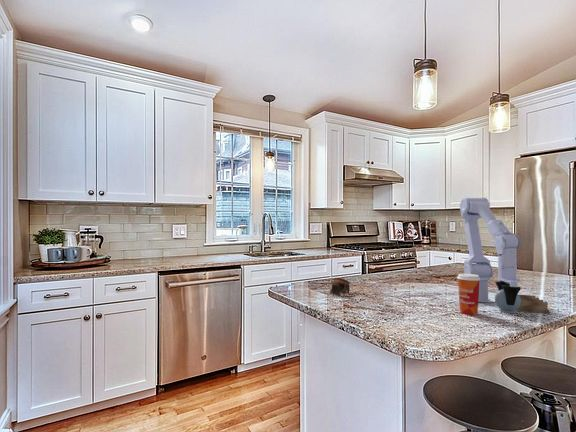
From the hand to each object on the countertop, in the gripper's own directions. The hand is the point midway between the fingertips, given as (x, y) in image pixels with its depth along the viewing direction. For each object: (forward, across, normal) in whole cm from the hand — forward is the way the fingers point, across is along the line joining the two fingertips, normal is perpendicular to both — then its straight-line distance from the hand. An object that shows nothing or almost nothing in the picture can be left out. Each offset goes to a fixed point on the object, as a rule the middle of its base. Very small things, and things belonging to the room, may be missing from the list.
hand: (507, 302), depth 123 cm
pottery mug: (+4, +12, +64) cm, 65 cm away
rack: (+3, +8, -9) cm, 13 cm away
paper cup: (+4, -6, +14) cm, 16 cm away
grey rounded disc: (+3, 0, 0) cm, 3 cm away
